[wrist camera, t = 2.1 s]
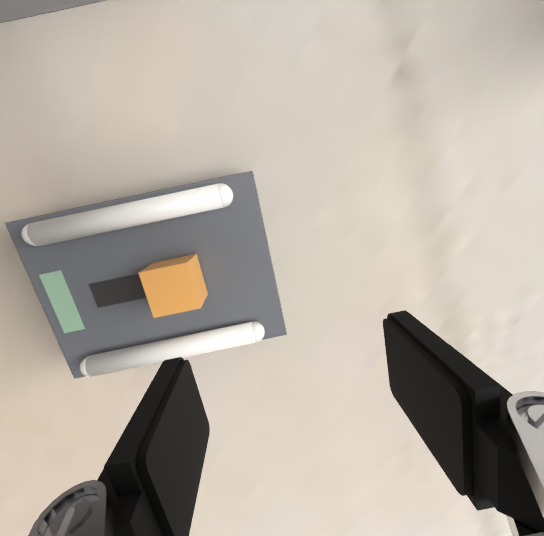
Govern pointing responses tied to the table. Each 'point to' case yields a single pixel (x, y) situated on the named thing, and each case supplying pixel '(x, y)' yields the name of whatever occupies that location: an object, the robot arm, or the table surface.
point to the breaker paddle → (174, 285)
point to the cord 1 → (127, 215)
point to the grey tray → (35, 7)
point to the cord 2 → (172, 349)
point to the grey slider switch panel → (140, 254)
